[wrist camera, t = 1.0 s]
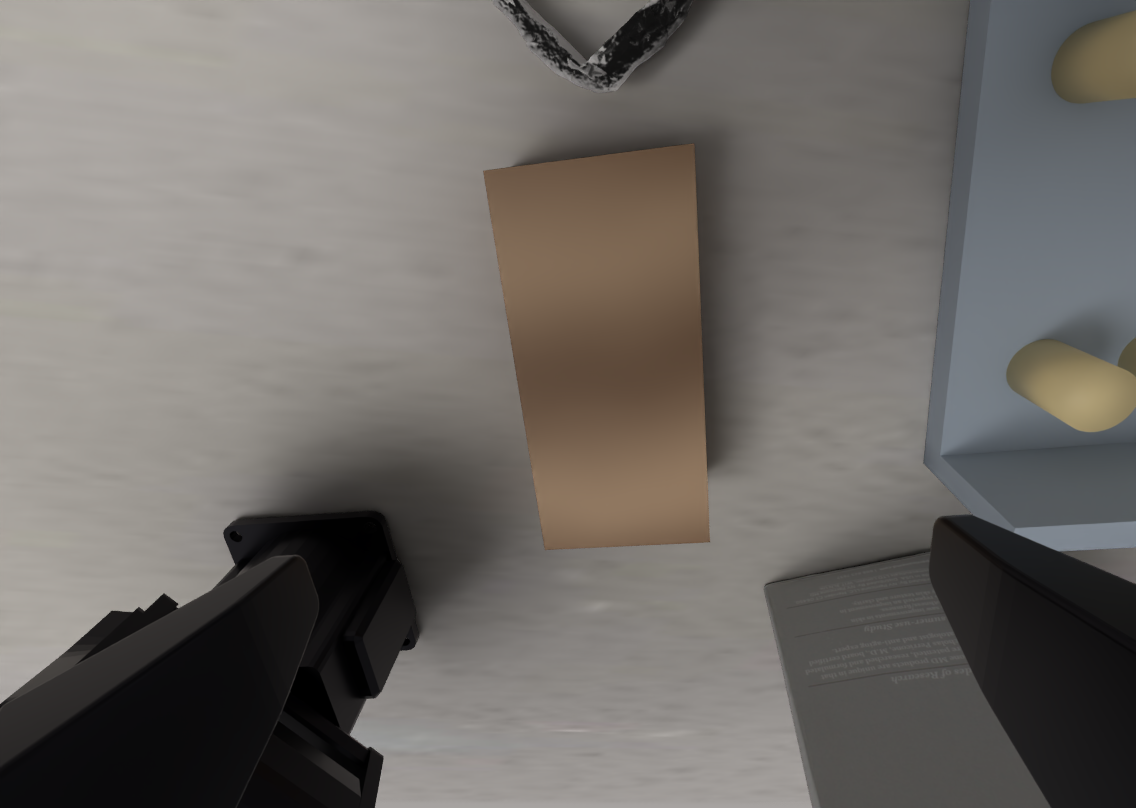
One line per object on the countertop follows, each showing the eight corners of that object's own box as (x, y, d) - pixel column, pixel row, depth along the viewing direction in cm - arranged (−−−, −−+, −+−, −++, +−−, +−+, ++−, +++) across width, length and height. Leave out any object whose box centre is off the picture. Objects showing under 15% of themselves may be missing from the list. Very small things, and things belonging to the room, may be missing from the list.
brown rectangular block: (695, 475, 22) (709, 542, 18) (558, 484, 22) (545, 549, 19) (680, 144, 18) (694, 143, 14) (512, 166, 18) (483, 171, 15)
